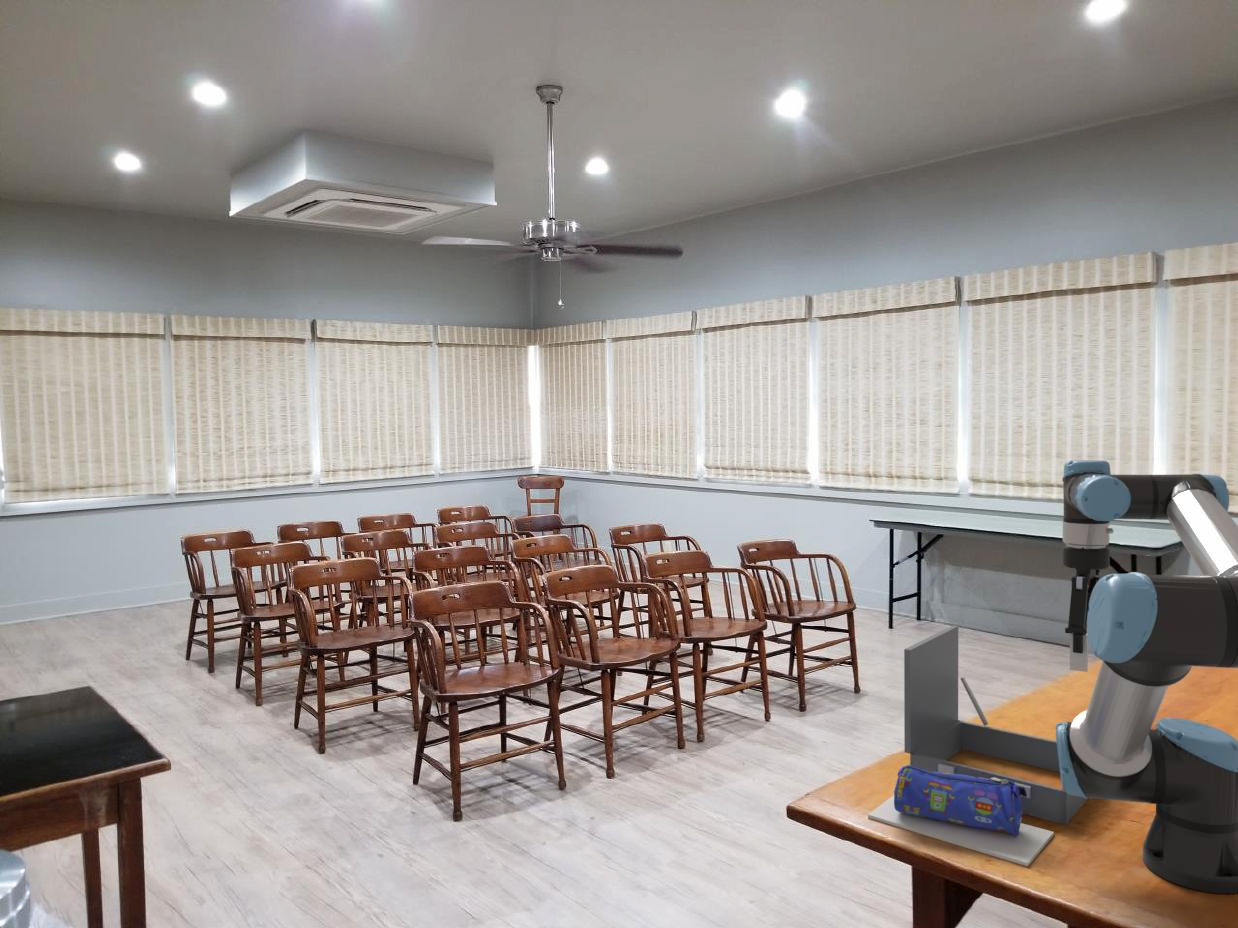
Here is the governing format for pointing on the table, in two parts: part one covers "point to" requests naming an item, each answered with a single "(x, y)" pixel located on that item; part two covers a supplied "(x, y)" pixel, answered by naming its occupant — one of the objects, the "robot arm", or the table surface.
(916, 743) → the case
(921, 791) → the pencil case
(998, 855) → the grey mat
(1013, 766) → the table surface
